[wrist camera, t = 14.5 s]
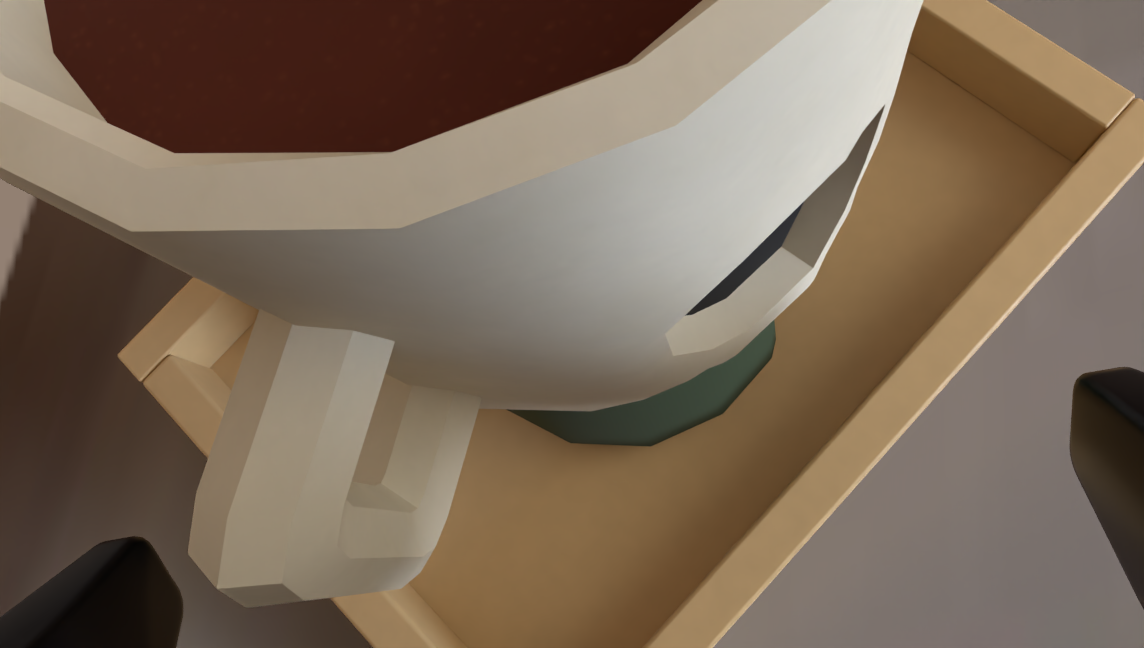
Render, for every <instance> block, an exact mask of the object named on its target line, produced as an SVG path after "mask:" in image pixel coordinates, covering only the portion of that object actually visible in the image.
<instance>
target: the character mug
mask: <svg viewBox="0 0 1144 648" xmlns="http://www.w3.org/2000/svg"><path fill="white" fill-rule="evenodd" d="M922 3H923V0H0V178H1V179H2V180H4V181H6V182H7V183H9V184H11V185H13V186H15V187H17V188H19V189H21V190H23V191H25V192H27V193H29V194H31V195H33V196H35V197H37V198H39V199H41V200H43V201H44V202H46V203H48V204H50V205H52V206H54V207H56V208H58V209H60V210H62V211H64V212H66V213H68V214H70V215H72V216H74V217H76V218H78V219H80V220H82V221H84V222H86V223H88V224H90V225H92V226H94V227H96V228H98V229H100V230H102V231H104V232H106V233H108V234H109V235H111V236H113V237H115V238H117V239H119V240H121V241H123V242H125V243H127V244H129V245H131V246H133V247H135V248H137V249H139V250H141V251H143V252H145V253H147V254H149V255H151V256H153V257H155V258H157V259H159V260H161V261H163V262H165V263H167V264H169V265H171V266H173V267H175V268H177V269H179V270H181V271H183V272H185V273H187V274H189V275H191V276H193V277H195V278H197V279H199V280H201V281H203V282H205V283H207V284H209V285H211V286H213V287H215V288H216V289H218V290H220V291H222V292H224V293H226V294H228V295H230V296H232V297H234V298H236V299H238V300H240V301H242V302H244V303H246V304H248V305H250V306H252V307H254V308H256V309H258V310H259V312H258V315H257V318H256V321H255V324H254V327H253V329H252V332H251V335H250V338H249V341H248V344H247V347H246V350H245V353H244V356H243V359H242V361H241V364H240V367H239V370H238V373H237V376H236V379H235V382H234V385H233V388H232V390H231V393H230V396H229V399H228V402H227V405H226V408H225V411H224V414H223V417H222V420H221V422H220V425H219V428H218V431H217V434H216V437H215V440H214V443H213V446H212V449H211V451H210V454H209V457H208V460H207V463H206V466H205V469H204V472H203V475H202V478H201V481H200V483H199V486H198V489H197V492H196V497H195V504H194V512H193V519H192V526H191V533H190V540H189V547H188V555H189V556H190V557H191V558H192V560H193V561H194V562H195V563H196V564H197V566H198V567H199V568H200V569H201V570H202V572H203V573H204V574H205V575H206V577H207V578H208V579H209V580H210V581H211V583H212V584H213V585H214V586H215V587H216V589H218V590H219V591H221V592H222V593H224V594H225V595H227V596H228V597H230V598H231V599H233V600H235V601H236V602H238V603H239V604H241V605H242V606H244V607H245V608H252V607H260V606H268V605H276V604H284V603H293V602H301V601H309V600H317V599H325V598H333V597H341V596H349V595H357V594H365V593H372V592H380V591H388V590H395V589H401V588H403V587H404V586H405V585H406V584H407V583H409V582H410V581H411V580H412V579H413V578H415V577H416V576H417V575H418V574H419V573H421V571H422V569H423V568H424V566H425V564H426V562H427V561H428V559H429V557H430V556H431V554H432V552H433V550H434V549H435V547H436V545H437V542H438V540H439V537H440V535H441V532H442V530H443V527H444V525H445V522H446V520H447V517H448V514H449V510H450V507H451V504H452V500H453V497H454V493H455V490H456V486H457V483H458V479H459V476H460V472H461V469H462V465H463V462H464V459H465V455H466V452H467V448H468V445H469V441H470V438H471V434H472V431H473V427H474V424H475V420H476V417H477V413H478V410H479V409H506V410H508V411H510V412H512V413H514V414H516V415H518V416H519V417H521V418H523V419H525V420H527V421H529V422H531V423H533V424H535V425H537V426H539V427H541V428H542V429H544V430H546V431H548V432H550V433H552V434H554V435H556V436H558V437H560V438H562V439H563V440H565V441H567V442H569V443H577V444H601V445H625V446H649V447H651V446H653V445H655V444H658V443H660V442H662V441H664V440H666V439H669V438H671V437H673V436H675V435H677V434H680V433H682V432H684V431H686V430H689V429H691V428H693V427H695V426H697V425H700V424H702V423H704V422H706V421H708V420H711V419H713V418H715V417H717V416H720V415H722V414H723V413H724V412H725V411H726V410H727V409H728V408H729V407H730V405H731V404H732V403H733V402H734V401H735V400H736V399H737V397H738V396H739V395H740V394H741V393H742V392H743V391H744V389H745V388H746V387H747V386H748V385H749V384H750V383H751V381H752V380H753V379H754V378H755V377H756V376H757V375H758V373H759V372H760V371H761V370H762V369H763V368H764V367H765V365H766V364H767V363H768V362H769V361H770V360H771V359H772V355H773V350H774V346H775V342H776V333H775V321H774V319H775V318H776V317H777V316H778V315H779V314H781V313H782V312H783V311H784V310H785V309H786V308H787V307H788V306H789V305H790V304H791V303H792V302H793V301H794V300H795V299H796V298H798V297H799V296H800V295H801V294H802V293H803V292H804V291H805V290H806V289H807V288H808V287H809V286H810V284H811V283H812V282H813V280H814V279H815V277H816V275H817V273H818V271H819V268H820V266H821V264H822V262H823V260H824V258H825V256H826V254H827V252H828V250H829V248H830V246H831V244H832V242H833V241H834V239H835V237H836V235H837V233H838V231H839V229H840V228H841V226H842V224H843V223H844V221H845V219H846V217H847V215H848V213H849V211H850V209H851V206H852V203H853V200H854V197H855V194H856V190H857V187H858V185H859V183H860V181H861V179H862V177H863V174H864V172H865V170H866V168H867V166H868V163H869V161H870V159H871V157H872V155H873V153H874V150H875V148H876V146H877V144H878V142H879V139H880V136H881V133H882V130H883V127H884V124H885V121H886V118H887V115H888V112H889V109H890V107H891V104H892V101H893V98H894V95H895V92H896V88H897V84H898V81H899V77H900V74H901V70H902V67H903V63H904V60H905V56H906V52H907V49H908V45H909V42H910V38H911V35H912V31H913V29H914V26H915V23H916V20H917V17H918V14H919V12H920V9H921V6H922Z"/></svg>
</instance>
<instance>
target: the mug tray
mask: <svg viewBox="0 0 1144 648" xmlns="http://www.w3.org/2000/svg"><path fill="white" fill-rule="evenodd" d="M1134 97H1135V95H1134V94H1133V93H1132V92H1130V91H1129V90H1127V89H1125V88H1124V87H1122V86H1121V85H1119V84H1118V83H1116V82H1114V81H1113V80H1111V79H1110V78H1108V77H1107V76H1105V75H1103V74H1102V73H1100V72H1099V71H1097V70H1096V69H1094V68H1092V67H1091V66H1089V65H1088V64H1086V63H1085V62H1083V61H1081V60H1080V59H1078V58H1077V57H1075V56H1073V55H1072V54H1070V53H1069V52H1067V51H1066V50H1064V49H1062V48H1061V47H1059V46H1058V45H1056V44H1055V43H1053V42H1051V41H1050V40H1048V39H1047V38H1045V37H1044V36H1042V35H1040V34H1039V33H1037V32H1036V31H1034V30H1033V29H1031V28H1029V27H1028V26H1026V25H1025V24H1023V23H1021V22H1020V21H1018V20H1017V19H1015V18H1014V17H1012V16H1010V15H1009V14H1007V13H1006V12H1004V11H1003V10H1001V9H999V8H998V7H996V6H995V5H993V4H992V3H990V2H988V1H987V0H923V3H922V6H921V9H920V12H919V14H918V17H917V20H916V23H915V26H914V29H913V31H912V35H911V38H910V42H909V45H908V49H907V52H906V56H905V60H904V63H903V67H902V70H901V74H900V77H899V81H898V84H897V88H896V92H895V95H894V98H893V101H892V104H891V107H890V109H889V112H888V115H887V118H886V121H885V124H884V127H883V130H882V133H881V136H880V139H879V142H878V144H877V146H876V148H875V150H874V153H873V155H872V157H871V159H870V161H869V163H868V166H867V168H866V170H865V172H864V174H863V177H862V179H861V181H860V183H859V185H858V187H857V190H856V194H855V197H854V200H853V203H852V206H851V209H850V211H849V213H848V215H847V217H846V219H845V221H844V223H843V224H842V226H841V228H840V229H839V231H838V233H837V235H836V237H835V239H834V241H833V242H832V244H831V246H830V248H829V250H828V252H827V254H826V256H825V258H824V260H823V262H822V264H821V266H820V268H819V271H818V273H817V275H816V277H815V279H814V280H813V282H812V283H811V284H810V286H809V287H808V288H807V289H806V290H805V291H804V292H803V293H802V294H801V295H800V296H799V297H798V298H796V299H795V300H794V301H793V302H792V303H791V304H790V305H789V306H788V307H787V308H786V309H785V310H784V311H783V312H782V313H781V314H779V315H778V316H777V317H776V318H775V319H774V321H775V333H776V342H775V346H774V350H773V355H772V359H771V360H770V361H769V362H768V363H767V364H766V365H765V367H764V368H763V369H762V370H761V371H760V372H759V373H758V375H757V376H756V377H755V378H754V379H753V380H752V381H751V383H750V384H749V385H748V386H747V387H746V388H745V389H744V391H743V392H742V393H741V394H740V395H739V396H738V397H737V399H736V400H735V401H734V402H733V403H732V404H731V405H730V407H729V408H728V409H727V410H726V411H725V412H724V413H723V414H722V415H720V416H717V417H715V418H713V419H711V420H708V421H706V422H704V423H702V424H700V425H697V426H695V427H693V428H691V429H689V430H686V431H684V432H682V433H680V434H677V435H675V436H673V437H671V438H669V439H666V440H664V441H662V442H660V443H658V444H655V445H653V446H651V447H649V446H625V445H601V444H577V443H569V442H567V441H565V440H563V439H562V438H560V437H558V436H556V435H554V434H552V433H550V432H548V431H546V430H544V429H542V428H541V427H539V426H537V425H535V424H533V423H531V422H529V421H527V420H525V419H523V418H521V417H519V416H518V415H516V414H514V413H512V412H510V411H508V410H506V409H479V410H478V413H477V417H476V420H475V424H474V427H473V431H472V434H471V438H470V441H469V445H468V448H467V452H466V455H465V459H464V462H463V465H462V469H461V472H460V476H459V479H458V483H457V486H456V490H455V493H454V497H453V500H452V504H451V507H450V510H449V514H448V517H447V520H446V522H445V525H444V527H443V530H442V532H441V535H440V537H439V540H438V542H437V545H436V547H435V549H434V550H433V552H432V554H431V556H430V557H429V559H428V561H427V562H426V564H425V566H424V568H423V569H422V571H421V573H419V574H418V575H417V576H416V577H415V578H413V579H412V580H411V581H410V582H409V583H407V584H406V585H405V586H404V587H403V588H401V589H395V590H388V591H380V592H372V593H365V594H357V595H349V596H341V597H333V598H330V599H331V600H332V601H333V602H334V603H335V604H336V606H337V607H338V608H339V609H340V610H341V611H342V612H343V614H344V615H345V616H346V617H347V618H348V619H349V620H350V622H351V623H352V624H353V625H354V626H355V627H356V628H357V630H358V631H359V632H360V633H361V634H362V635H363V636H364V638H365V639H366V640H367V641H368V642H369V643H370V644H371V646H372V647H373V648H713V647H714V646H715V645H716V644H717V642H718V641H719V640H720V639H721V638H722V637H723V636H724V635H725V633H726V632H727V631H728V630H729V629H730V628H731V627H732V626H733V624H734V623H735V622H736V621H737V620H738V619H739V618H740V617H741V615H742V614H743V613H744V612H745V611H746V610H747V609H748V608H749V606H750V605H751V604H752V603H753V602H754V601H755V600H756V599H757V597H758V596H759V595H760V594H761V593H762V592H763V591H764V590H765V588H766V587H767V586H768V585H769V584H770V583H771V582H772V581H773V579H774V578H775V577H776V576H777V575H778V574H779V573H780V572H781V570H782V569H783V568H784V567H785V566H786V565H787V564H788V563H789V561H790V560H791V559H792V558H793V557H794V556H795V555H796V554H797V552H798V551H799V550H800V549H801V548H802V547H803V546H804V545H805V543H806V542H807V541H808V540H809V539H810V538H811V537H812V536H813V534H814V533H815V532H816V531H817V530H818V529H819V528H820V527H821V525H822V524H823V523H824V522H825V521H826V520H827V519H828V518H829V516H830V515H831V514H832V513H833V512H834V511H835V510H836V509H837V507H838V506H839V505H840V504H841V503H842V502H843V501H844V500H845V498H846V497H847V496H848V495H849V494H850V493H851V492H852V491H853V489H854V488H855V487H856V486H857V485H858V484H859V483H860V482H861V480H862V479H863V478H864V477H865V476H866V475H867V474H868V473H869V471H870V470H871V469H872V468H873V467H874V466H875V465H876V464H877V462H878V461H879V460H880V459H881V458H882V457H883V456H884V455H885V453H886V452H887V451H888V450H889V449H890V448H891V447H892V446H893V444H894V443H895V442H896V441H897V440H898V439H899V438H900V437H901V435H902V434H903V433H904V432H905V431H906V430H907V429H908V428H909V426H910V425H911V424H912V423H913V422H914V421H915V420H916V419H917V417H918V416H919V415H920V414H921V413H922V412H923V411H924V410H925V408H926V407H927V406H928V405H929V404H930V403H931V402H932V401H933V399H934V398H935V397H936V396H937V395H938V394H939V393H940V392H941V390H942V389H943V388H944V387H945V386H946V385H947V384H948V383H949V381H950V380H951V379H952V378H953V377H954V376H955V375H956V374H957V372H958V371H959V370H960V369H961V368H962V367H963V366H964V365H965V363H966V362H967V361H968V360H969V359H970V358H971V357H972V356H973V354H974V353H975V352H976V351H977V350H978V349H979V348H980V347H981V345H982V344H983V343H984V342H985V341H986V340H987V339H988V338H989V336H990V335H991V334H992V333H993V332H994V331H995V330H996V329H997V327H998V326H999V325H1000V324H1001V323H1002V322H1003V321H1004V320H1005V318H1006V317H1007V316H1008V315H1009V314H1010V313H1011V312H1012V311H1013V309H1014V308H1015V307H1016V306H1017V305H1018V304H1019V303H1020V302H1021V300H1022V299H1023V298H1024V297H1025V296H1026V295H1027V294H1028V293H1029V291H1030V290H1031V289H1032V288H1033V287H1034V286H1035V285H1036V284H1037V282H1038V281H1039V280H1040V279H1041V278H1042V277H1043V276H1044V275H1045V273H1046V272H1047V271H1048V270H1049V269H1050V268H1051V267H1052V266H1053V264H1054V263H1055V262H1056V261H1057V260H1058V259H1059V258H1060V257H1061V255H1062V254H1063V253H1064V252H1065V251H1066V250H1067V249H1068V248H1069V246H1070V245H1071V244H1072V243H1073V242H1074V241H1075V240H1076V239H1077V237H1078V236H1079V235H1080V234H1081V233H1082V232H1083V231H1084V230H1085V228H1086V227H1087V226H1088V225H1089V224H1090V223H1091V222H1092V221H1093V219H1094V218H1095V217H1096V216H1097V215H1098V214H1099V213H1100V212H1101V210H1102V209H1103V208H1104V207H1105V206H1106V205H1107V204H1108V203H1109V201H1110V200H1111V199H1112V198H1113V197H1114V196H1115V195H1116V194H1117V192H1118V191H1119V190H1120V189H1121V188H1122V187H1123V186H1124V185H1125V183H1126V182H1127V181H1128V180H1129V179H1130V178H1131V177H1132V176H1133V174H1134V173H1135V172H1136V171H1137V170H1138V169H1139V168H1140V167H1141V165H1142V164H1143V163H1144V101H1143V100H1141V99H1139V98H1137V99H1134ZM1133 99H1134V100H1133ZM258 312H259V310H258V309H256V308H254V307H252V306H250V305H248V304H246V303H244V302H242V301H240V300H238V299H236V298H234V297H232V296H230V295H228V294H226V293H224V292H222V291H220V290H218V289H216V288H215V287H213V286H211V285H209V284H207V283H205V282H203V281H201V280H199V279H197V278H195V277H193V278H192V279H191V280H190V281H189V282H188V283H187V284H186V285H185V286H184V287H183V288H182V289H181V290H180V291H179V292H178V293H177V294H176V295H175V296H174V297H173V298H172V299H171V300H170V301H169V302H168V303H167V304H166V305H165V306H164V307H163V308H162V309H161V310H160V311H159V312H158V313H157V315H156V316H155V317H154V318H153V319H152V320H151V321H150V322H149V323H148V324H147V325H146V326H145V327H144V328H143V329H142V330H141V331H140V332H139V333H138V334H137V335H136V336H135V337H134V338H133V339H132V340H131V341H130V342H129V343H128V344H127V345H126V346H125V347H124V348H123V349H122V350H121V351H120V352H119V353H118V355H117V356H118V358H119V359H120V360H121V361H122V362H123V364H124V365H125V366H126V367H127V368H128V369H129V370H130V372H131V373H132V374H133V375H134V376H135V377H136V378H137V380H138V381H140V382H143V384H144V386H145V388H146V389H147V390H148V391H149V392H150V393H151V394H152V396H153V397H154V398H155V399H156V400H157V401H158V402H159V404H160V405H161V406H162V407H163V408H164V409H165V410H166V412H167V413H168V414H169V415H170V416H171V417H172V418H173V420H174V421H175V422H176V423H177V424H178V425H179V426H180V428H181V429H182V430H183V431H184V432H185V433H186V434H187V436H188V437H189V438H190V439H191V440H192V441H193V442H194V444H195V445H196V446H197V447H198V448H199V449H200V450H201V452H202V453H203V454H204V455H205V456H206V457H207V458H208V457H209V454H210V451H211V449H212V446H213V443H214V440H215V437H216V434H217V431H218V428H219V425H220V422H221V420H222V417H223V414H224V411H225V408H226V405H227V402H228V399H229V396H230V393H231V390H232V388H233V385H234V382H235V379H236V376H237V373H238V370H239V367H240V364H241V361H242V359H243V356H244V353H245V350H246V347H247V344H248V341H249V338H250V335H251V332H252V329H253V327H254V324H255V321H256V318H257V315H258Z"/></svg>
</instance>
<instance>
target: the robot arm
mask: <svg viewBox="0 0 1144 648" xmlns="http://www.w3.org/2000/svg"><path fill="white" fill-rule="evenodd" d="M1070 456H1071V460H1072V464H1073V467H1074V470H1075V473H1076V475H1077V477H1078V479H1079V481H1080V483H1081V485H1082V487H1083V489H1084V491H1085V493H1086V495H1087V497H1088V499H1089V501H1090V503H1091V505H1092V507H1093V509H1094V511H1095V513H1096V515H1097V517H1098V519H1099V521H1100V523H1101V525H1102V527H1103V529H1104V531H1105V533H1106V535H1107V537H1108V539H1109V541H1110V543H1111V545H1112V547H1113V549H1114V551H1115V554H1116V556H1117V558H1118V560H1119V562H1120V564H1121V566H1122V568H1123V570H1124V572H1125V574H1126V576H1127V578H1128V580H1129V582H1130V584H1131V586H1132V588H1133V590H1134V592H1135V594H1136V596H1137V598H1138V600H1139V601H1140V603H1141V605H1142V607H1143V609H1144V372H1141V371H1139V370H1136V369H1133V368H1130V367H1118V368H1112V369H1106V370H1101V371H1095V372H1089V373H1084V374H1082V375H1081V376H1080V377H1079V378H1077V380H1076V382H1075V384H1074V388H1073V400H1072V416H1071V432H1070ZM182 618H183V600H182V596H181V593H180V590H179V588H178V587H177V585H176V583H175V582H174V580H173V579H172V577H171V575H170V574H169V572H168V570H167V569H166V567H165V566H164V564H163V562H162V561H161V559H160V557H159V556H158V554H157V553H156V551H155V549H154V548H153V546H152V545H151V544H150V542H149V541H147V540H146V539H144V538H142V537H138V536H132V537H127V538H121V539H115V540H109V541H105V542H102V543H100V544H98V545H96V546H94V547H93V548H92V549H90V550H89V551H88V552H86V553H85V554H84V555H82V556H81V557H80V558H79V559H77V560H76V561H75V562H73V563H72V564H71V565H69V566H68V567H67V568H65V569H64V570H63V571H61V572H60V573H59V574H57V575H56V576H55V577H53V578H52V579H51V580H49V581H48V582H47V583H45V584H44V585H43V586H41V587H40V588H39V589H37V590H36V591H35V592H33V593H32V594H31V595H29V596H28V597H27V598H25V599H24V600H23V601H21V602H20V603H19V604H17V605H16V606H15V607H13V608H12V609H11V610H9V611H8V612H7V613H5V614H4V615H3V616H1V617H0V648H176V645H177V640H178V636H179V631H180V627H181V622H182Z"/></svg>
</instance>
